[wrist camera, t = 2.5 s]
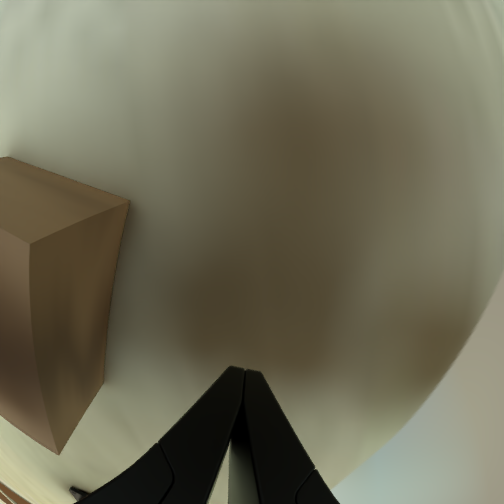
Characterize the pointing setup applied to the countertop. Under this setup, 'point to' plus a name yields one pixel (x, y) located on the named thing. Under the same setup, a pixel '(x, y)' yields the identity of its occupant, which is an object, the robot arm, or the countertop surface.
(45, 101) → the countertop surface
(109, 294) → the block
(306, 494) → the robot arm
